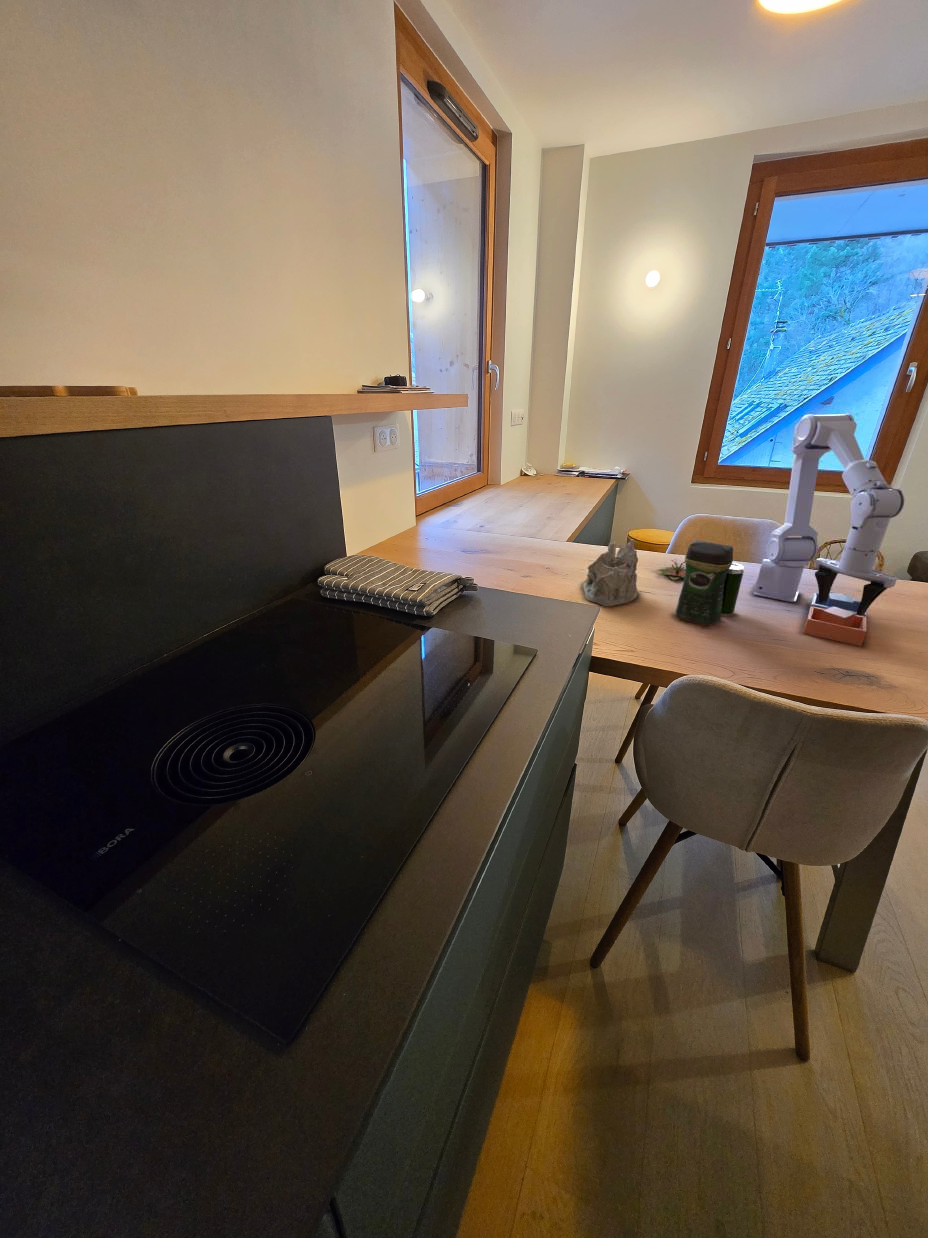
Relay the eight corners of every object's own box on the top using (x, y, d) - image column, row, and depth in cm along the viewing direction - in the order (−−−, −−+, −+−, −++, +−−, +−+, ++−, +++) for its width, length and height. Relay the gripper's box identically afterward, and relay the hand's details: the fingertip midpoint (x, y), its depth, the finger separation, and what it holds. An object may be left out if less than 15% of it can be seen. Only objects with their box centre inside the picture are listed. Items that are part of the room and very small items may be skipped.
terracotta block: (816, 628, 111) (822, 610, 109) (827, 624, 113) (834, 606, 111) (838, 636, 107) (845, 617, 105) (849, 631, 109) (856, 613, 107)
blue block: (823, 615, 117) (829, 598, 115) (825, 609, 120) (830, 592, 118) (847, 620, 114) (853, 602, 112) (847, 613, 118) (853, 596, 116)
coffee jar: (723, 618, 118) (740, 543, 110) (712, 629, 112) (730, 551, 104) (682, 607, 123) (695, 535, 115) (670, 618, 118) (683, 543, 110)
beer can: (725, 618, 117) (736, 571, 112) (704, 611, 121) (714, 564, 116) (737, 613, 120) (749, 566, 115) (717, 605, 124) (727, 560, 119)
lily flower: (671, 584, 137) (673, 569, 135) (646, 570, 148) (649, 556, 146) (708, 580, 140) (711, 565, 138) (682, 566, 150) (684, 552, 148)
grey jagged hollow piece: (602, 576, 143) (607, 527, 136) (649, 597, 131) (657, 543, 123) (563, 592, 136) (565, 540, 128) (608, 614, 124) (614, 559, 116)
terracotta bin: (803, 633, 110) (807, 619, 108) (806, 619, 116) (811, 606, 115) (860, 646, 104) (866, 631, 103) (861, 631, 111) (866, 617, 109)
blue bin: (807, 617, 117) (811, 604, 116) (810, 605, 123) (814, 592, 122) (861, 628, 112) (866, 614, 110) (862, 615, 118) (867, 602, 116)
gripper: (913, 554, 98) (888, 615, 104) (834, 536, 109) (816, 593, 115) (895, 560, 95) (871, 623, 101) (816, 541, 106) (798, 599, 112)
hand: (840, 607), depth 108 cm, fingers open, 7 cm apart
